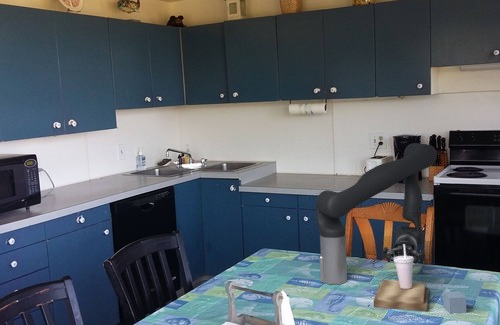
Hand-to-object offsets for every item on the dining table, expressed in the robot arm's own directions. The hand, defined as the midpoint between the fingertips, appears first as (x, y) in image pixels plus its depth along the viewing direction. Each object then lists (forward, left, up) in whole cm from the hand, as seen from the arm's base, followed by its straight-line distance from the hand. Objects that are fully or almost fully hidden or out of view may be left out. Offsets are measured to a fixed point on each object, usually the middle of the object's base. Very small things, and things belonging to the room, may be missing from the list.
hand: (402, 260), depth 173 cm
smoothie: (+1, -4, -8) cm, 9 cm away
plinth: (0, -5, -12) cm, 13 cm away
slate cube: (+16, -10, -12) cm, 22 cm away
